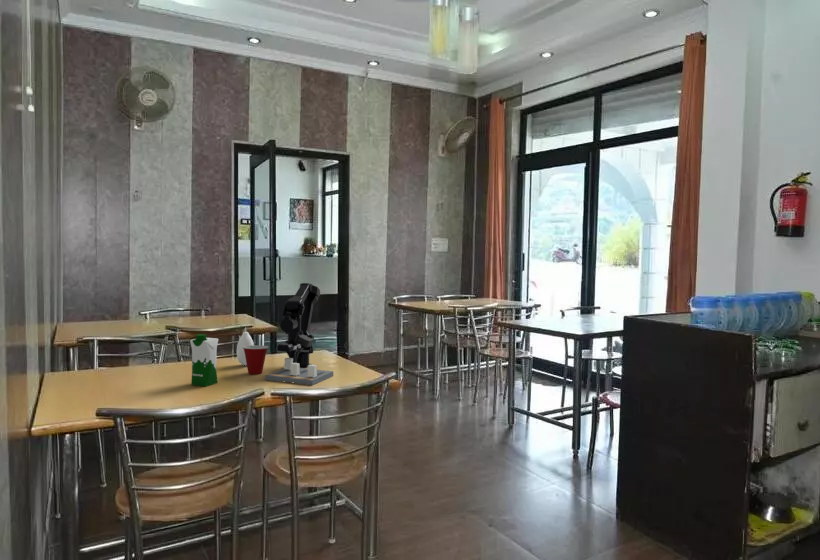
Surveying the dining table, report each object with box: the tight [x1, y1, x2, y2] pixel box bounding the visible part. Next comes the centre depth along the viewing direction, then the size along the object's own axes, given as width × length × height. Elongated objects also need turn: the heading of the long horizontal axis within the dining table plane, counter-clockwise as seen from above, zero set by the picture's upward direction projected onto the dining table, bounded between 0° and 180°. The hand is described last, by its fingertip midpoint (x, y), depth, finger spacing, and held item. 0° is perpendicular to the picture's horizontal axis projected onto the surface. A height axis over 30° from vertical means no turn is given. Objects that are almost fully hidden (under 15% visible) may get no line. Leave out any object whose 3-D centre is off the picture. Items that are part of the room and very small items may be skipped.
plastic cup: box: [243, 344, 269, 375], centre depth 244 cm, size 11×11×12 cm
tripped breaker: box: [283, 357, 293, 370], centre depth 243 cm, size 3×3×5 cm
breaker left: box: [307, 364, 318, 378], centre depth 230 cm, size 3×3×5 cm
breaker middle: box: [290, 363, 301, 376], centre depth 233 cm, size 3×3×5 cm
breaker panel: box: [264, 367, 334, 386], centre depth 237 cm, size 18×22×2 cm
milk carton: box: [189, 333, 219, 388], centre depth 223 cm, size 9×9×20 cm
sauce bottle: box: [236, 326, 255, 367], centre depth 258 cm, size 8×8×18 cm
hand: (293, 364), depth 247 cm, fingers closed
